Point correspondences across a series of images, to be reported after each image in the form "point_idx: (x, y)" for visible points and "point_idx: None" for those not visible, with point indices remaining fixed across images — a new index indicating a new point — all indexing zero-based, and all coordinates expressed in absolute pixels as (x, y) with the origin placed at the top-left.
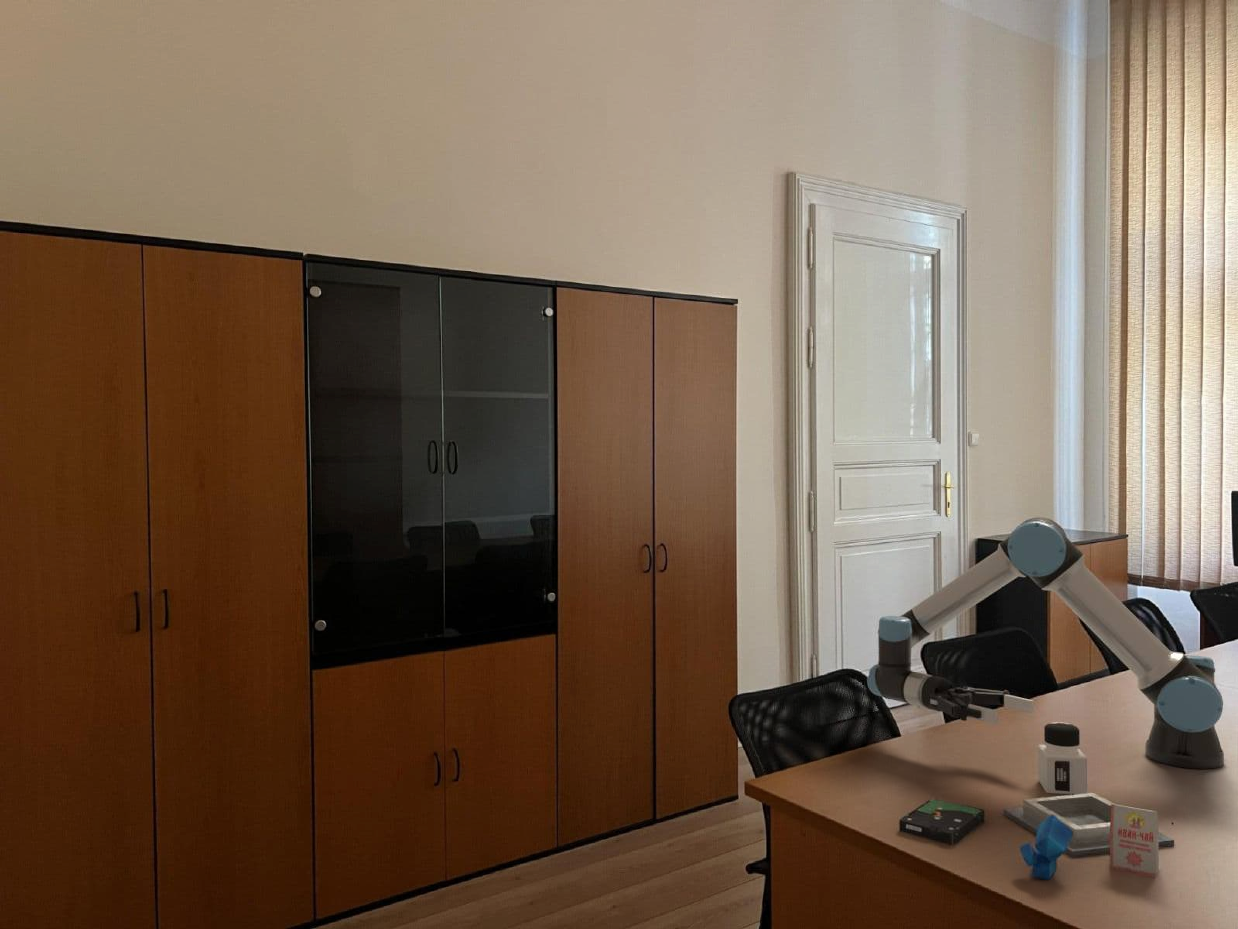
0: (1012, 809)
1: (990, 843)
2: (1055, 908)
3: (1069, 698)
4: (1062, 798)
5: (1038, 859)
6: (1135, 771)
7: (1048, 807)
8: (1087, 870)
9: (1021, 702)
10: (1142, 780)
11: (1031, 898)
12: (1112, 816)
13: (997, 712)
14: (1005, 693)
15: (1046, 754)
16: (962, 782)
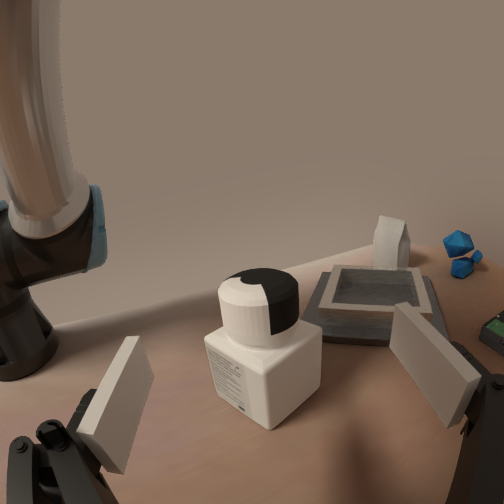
0: None
1: (488, 304)
2: None
3: None
4: (376, 305)
5: (469, 259)
6: (94, 371)
7: None
8: (428, 270)
9: (130, 378)
10: None
11: (482, 260)
12: (406, 230)
13: (397, 308)
14: (67, 432)
15: (316, 329)
16: (440, 475)
